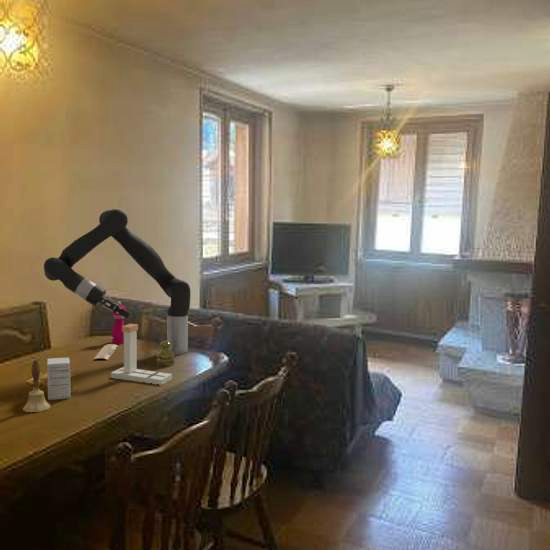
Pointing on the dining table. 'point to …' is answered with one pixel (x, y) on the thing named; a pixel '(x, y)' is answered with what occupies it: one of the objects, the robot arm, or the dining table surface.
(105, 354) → the newspaper
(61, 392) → the supplement box
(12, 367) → the dining table surface
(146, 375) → the white scale plate
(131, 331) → the fader tab
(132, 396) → the dining table surface
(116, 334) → the pepper mill
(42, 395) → the hand bell
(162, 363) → the brass knobbed piece
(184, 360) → the dining table surface
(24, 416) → the dining table surface
